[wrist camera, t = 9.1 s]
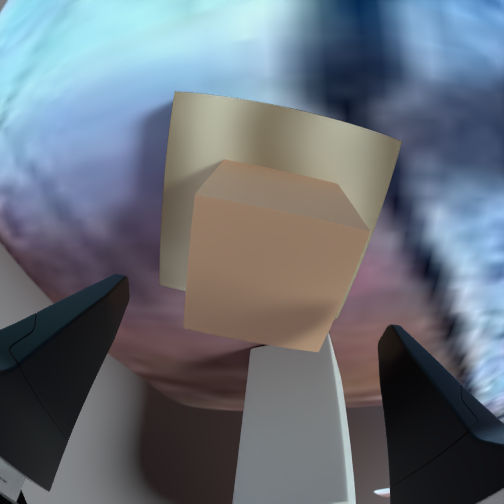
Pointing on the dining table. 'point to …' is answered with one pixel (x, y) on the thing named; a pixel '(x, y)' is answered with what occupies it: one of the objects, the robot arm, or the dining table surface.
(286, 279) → the tan cube
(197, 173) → the birch block
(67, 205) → the dining table surface
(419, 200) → the dining table surface
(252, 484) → the milk carton
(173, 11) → the dining table surface
